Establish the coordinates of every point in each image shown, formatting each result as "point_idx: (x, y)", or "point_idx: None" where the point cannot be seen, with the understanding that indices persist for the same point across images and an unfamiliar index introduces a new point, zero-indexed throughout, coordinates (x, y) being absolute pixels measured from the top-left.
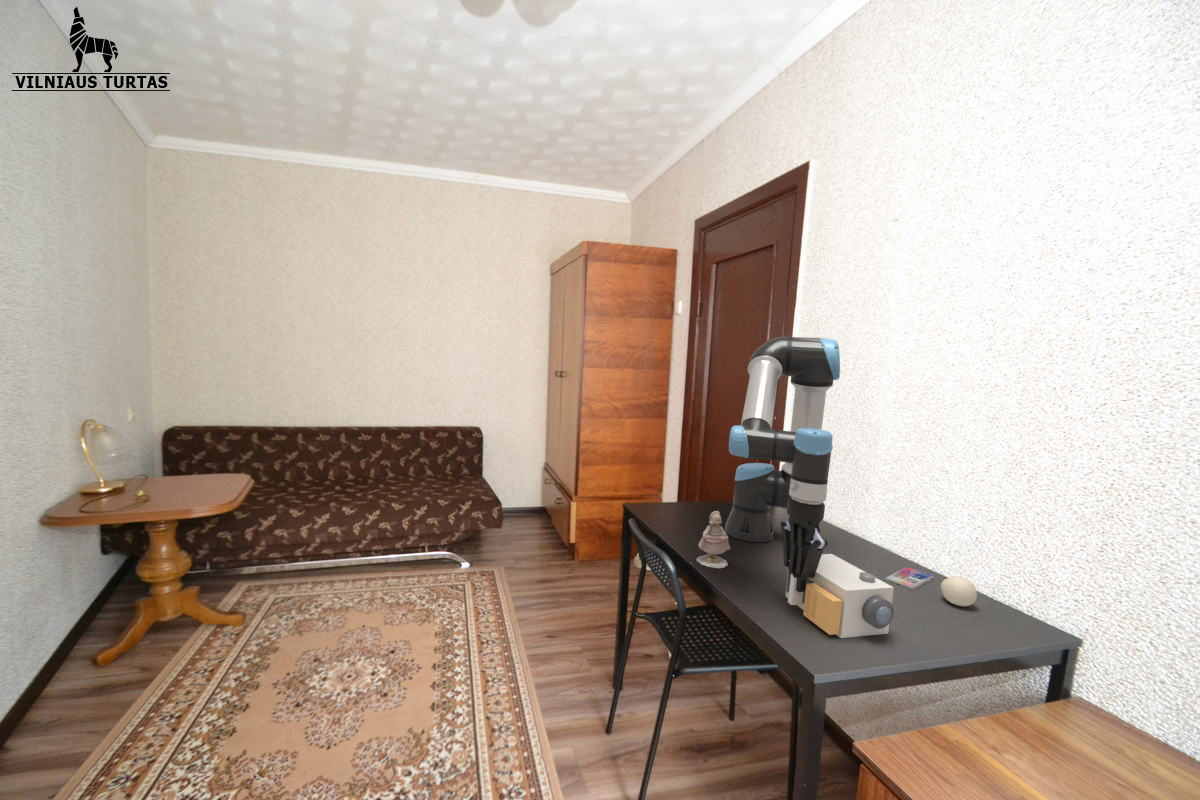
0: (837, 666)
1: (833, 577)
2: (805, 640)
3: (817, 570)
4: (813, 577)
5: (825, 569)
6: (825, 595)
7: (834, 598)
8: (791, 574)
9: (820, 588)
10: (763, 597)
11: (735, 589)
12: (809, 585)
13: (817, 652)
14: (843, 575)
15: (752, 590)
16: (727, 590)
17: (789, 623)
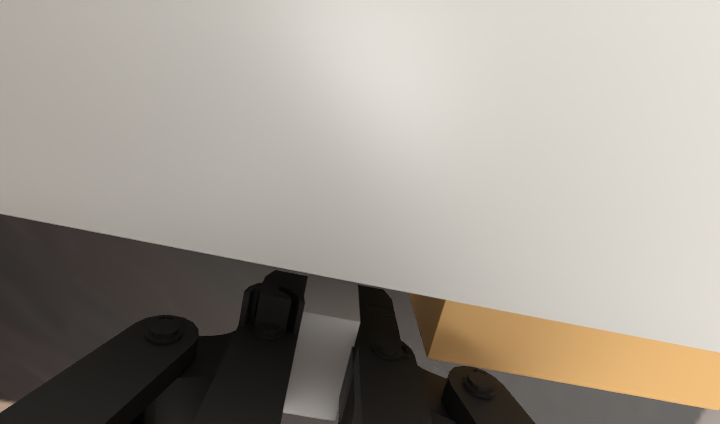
0: (685, 405)
1: (652, 230)
2: (522, 379)
3: (431, 246)
4: (496, 386)
5: (454, 104)
6: (634, 386)
7: (701, 364)
8: (286, 411)
9: (542, 324)
10: (149, 263)
11: (34, 336)
12: (460, 361)
13: (596, 401)
14: (700, 23)
15: (60, 259)
16: (40, 379)
17: (400, 338)
